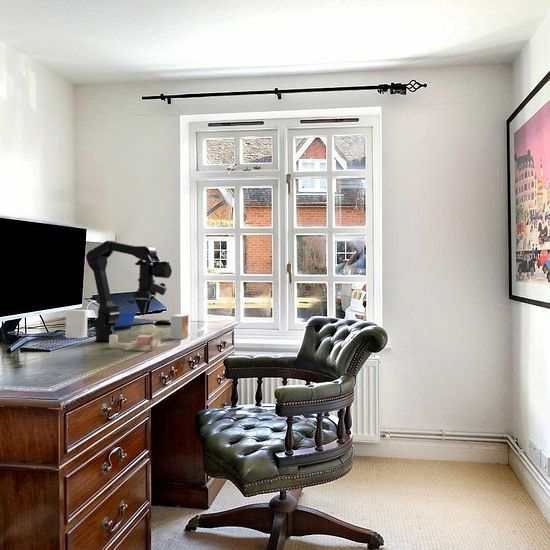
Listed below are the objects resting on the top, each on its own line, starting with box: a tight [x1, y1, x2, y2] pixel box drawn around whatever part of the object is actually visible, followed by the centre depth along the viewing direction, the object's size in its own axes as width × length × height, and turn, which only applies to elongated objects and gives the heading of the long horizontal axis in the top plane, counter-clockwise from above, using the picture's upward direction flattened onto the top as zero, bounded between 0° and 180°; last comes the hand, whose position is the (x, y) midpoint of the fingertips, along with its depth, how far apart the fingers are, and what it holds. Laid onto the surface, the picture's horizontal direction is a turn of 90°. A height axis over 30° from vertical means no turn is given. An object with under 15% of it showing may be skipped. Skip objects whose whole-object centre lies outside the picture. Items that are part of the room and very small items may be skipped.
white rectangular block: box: [64, 309, 88, 339], centre depth 226 cm, size 9×9×12 cm
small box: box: [170, 313, 190, 340], centre depth 233 cm, size 8×6×10 cm
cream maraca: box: [108, 334, 151, 349], centre depth 204 cm, size 16×5×5 cm, turn 92°
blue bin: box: [94, 311, 137, 331], centre depth 254 cm, size 16×13×9 cm
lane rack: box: [124, 329, 162, 352], centre depth 208 cm, size 11×17×6 cm, turn 2°
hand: (144, 314), depth 212 cm, fingers open, 9 cm apart
